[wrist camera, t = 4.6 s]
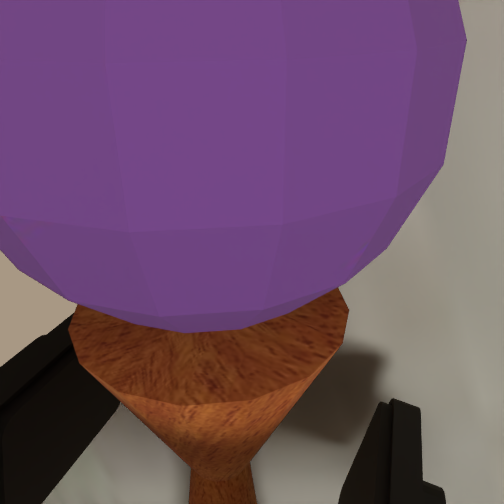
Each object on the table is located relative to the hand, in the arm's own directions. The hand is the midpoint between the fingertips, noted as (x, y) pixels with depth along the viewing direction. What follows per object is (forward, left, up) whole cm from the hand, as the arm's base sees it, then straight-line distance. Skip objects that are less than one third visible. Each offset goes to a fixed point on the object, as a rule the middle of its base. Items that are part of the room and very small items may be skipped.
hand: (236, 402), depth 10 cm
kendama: (0, 0, -1) cm, 1 cm away
